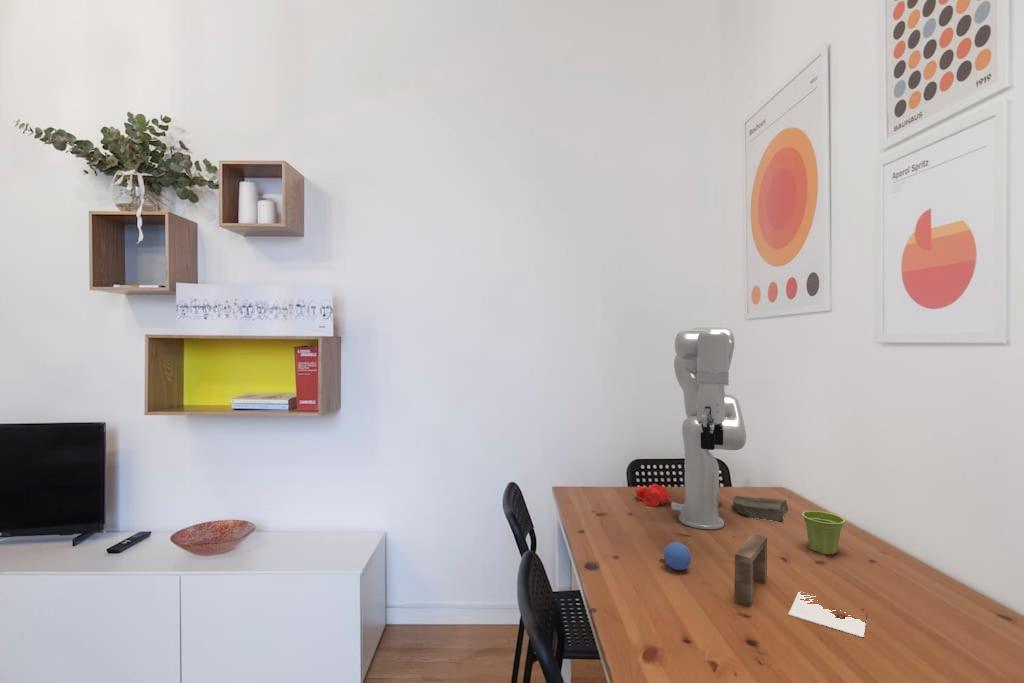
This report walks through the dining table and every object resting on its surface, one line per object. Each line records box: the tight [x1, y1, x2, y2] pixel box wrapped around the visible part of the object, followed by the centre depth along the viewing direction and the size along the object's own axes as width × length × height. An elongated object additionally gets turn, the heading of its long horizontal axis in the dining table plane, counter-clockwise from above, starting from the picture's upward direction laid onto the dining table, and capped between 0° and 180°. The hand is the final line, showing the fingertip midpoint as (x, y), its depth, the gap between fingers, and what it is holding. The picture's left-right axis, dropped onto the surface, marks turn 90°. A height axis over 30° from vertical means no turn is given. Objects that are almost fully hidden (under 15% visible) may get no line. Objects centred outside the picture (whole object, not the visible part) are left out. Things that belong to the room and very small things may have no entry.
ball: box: [663, 541, 692, 571], centre depth 116 cm, size 6×6×6 cm
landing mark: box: [788, 591, 867, 638], centre depth 98 cm, size 12×12×1 cm
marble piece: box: [732, 495, 789, 522], centre depth 158 cm, size 17×15×4 cm
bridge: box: [733, 533, 768, 607], centre depth 106 cm, size 3×15×10 cm, turn 142°
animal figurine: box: [635, 483, 671, 508], centre depth 170 cm, size 12×15×5 cm
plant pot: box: [801, 510, 846, 555], centre depth 129 cm, size 9×9×9 cm
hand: (712, 446), depth 127 cm, fingers open, 9 cm apart
